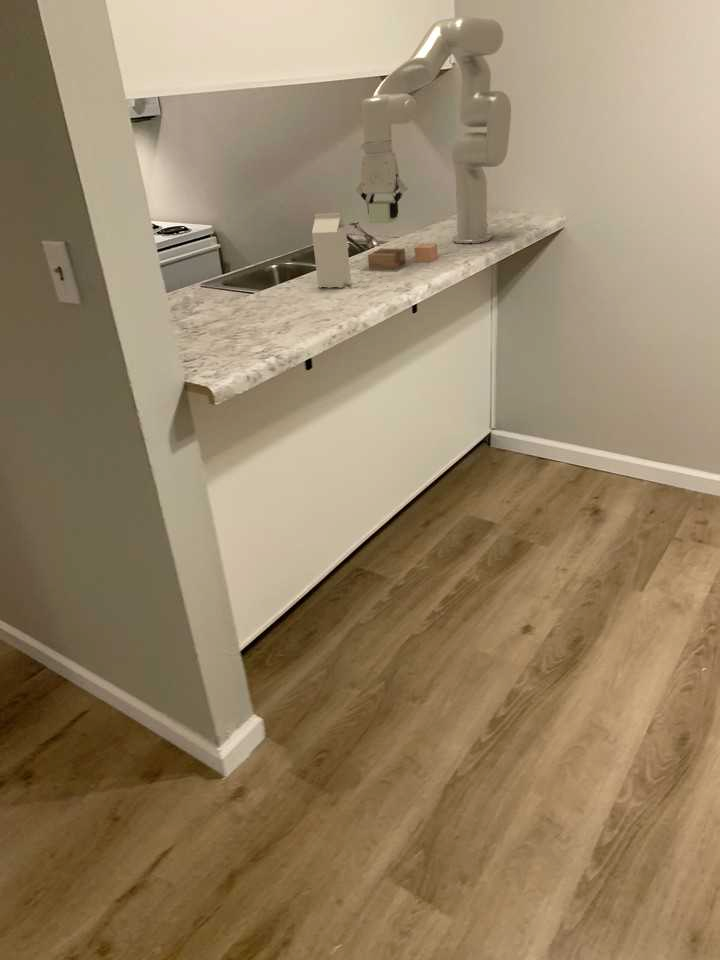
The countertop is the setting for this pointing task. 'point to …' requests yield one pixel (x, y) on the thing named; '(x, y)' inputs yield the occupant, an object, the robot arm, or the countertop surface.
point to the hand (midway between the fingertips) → (383, 216)
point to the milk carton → (331, 250)
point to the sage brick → (380, 212)
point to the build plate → (387, 269)
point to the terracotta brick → (426, 253)
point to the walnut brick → (386, 258)
